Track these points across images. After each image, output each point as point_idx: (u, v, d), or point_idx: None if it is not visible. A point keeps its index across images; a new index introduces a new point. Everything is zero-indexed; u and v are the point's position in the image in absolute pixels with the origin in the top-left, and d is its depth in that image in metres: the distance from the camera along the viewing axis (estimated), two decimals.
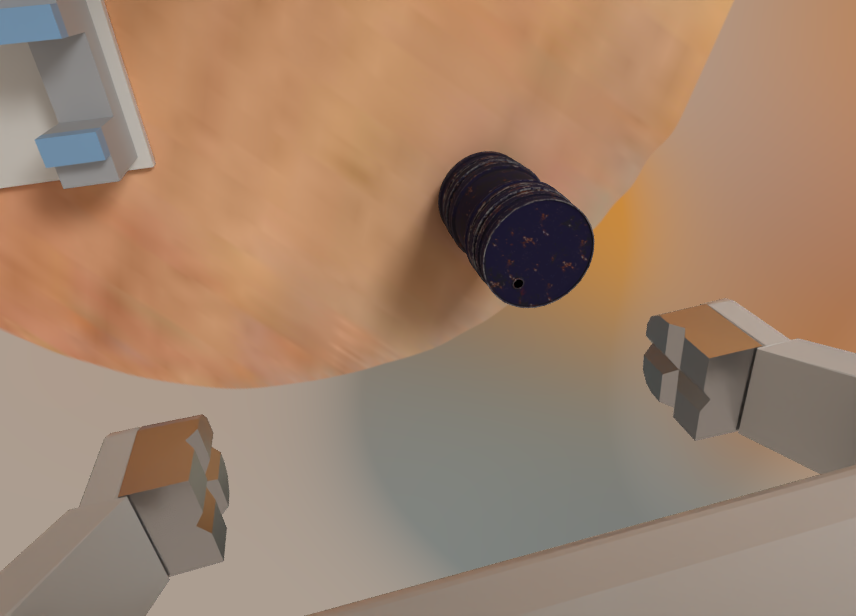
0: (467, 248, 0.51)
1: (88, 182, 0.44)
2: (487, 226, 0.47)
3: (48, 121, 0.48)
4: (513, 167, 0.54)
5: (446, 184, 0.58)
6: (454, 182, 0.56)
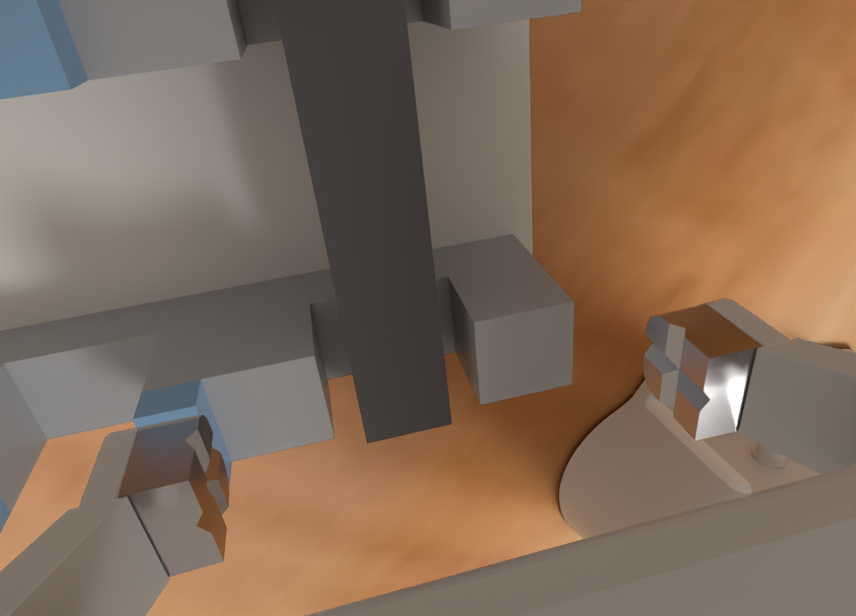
0: None
1: None
2: None
3: (6, 291, 0.25)
4: None
5: None
6: None
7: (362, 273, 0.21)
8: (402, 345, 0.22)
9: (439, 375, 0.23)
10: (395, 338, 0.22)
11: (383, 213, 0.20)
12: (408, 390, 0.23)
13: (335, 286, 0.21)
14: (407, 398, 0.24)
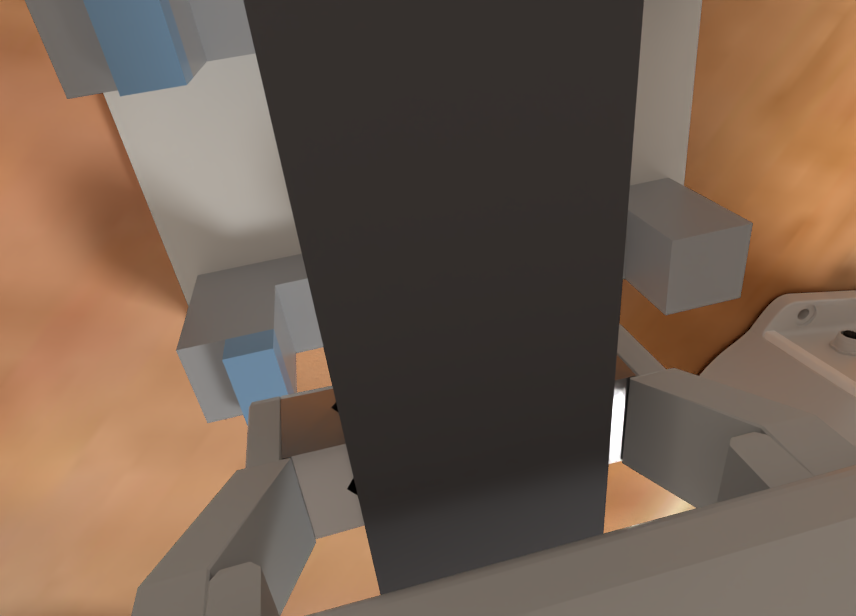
0: None
1: (196, 383, 0.25)
2: None
3: (261, 229, 0.30)
4: None
5: None
6: None
7: None
8: None
9: None
10: None
11: (511, 508, 0.09)
12: None
13: None
14: None
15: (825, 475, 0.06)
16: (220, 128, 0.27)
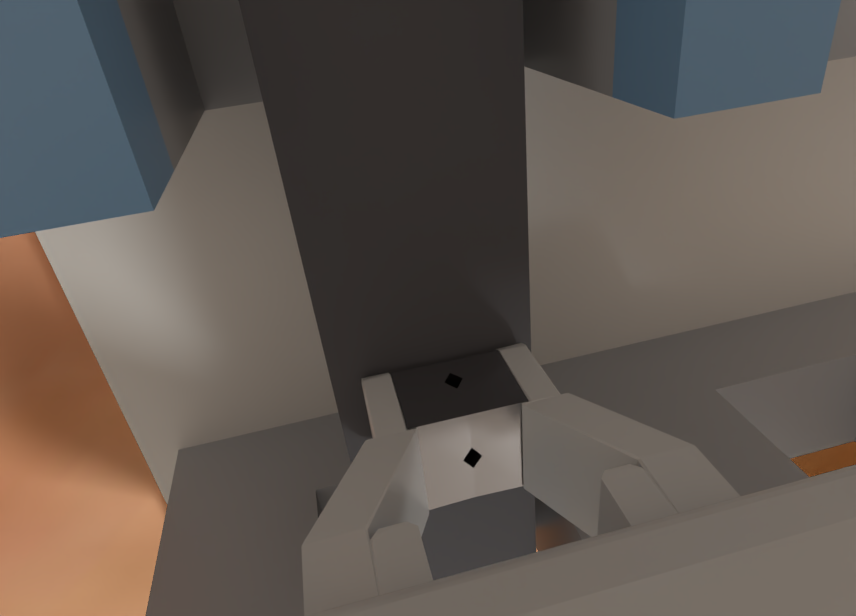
0: None
1: None
2: None
3: (288, 377, 0.18)
4: None
5: None
6: None
7: None
8: None
9: None
10: None
11: None
12: None
13: None
14: None
15: (825, 475, 0.06)
16: (224, 219, 0.15)
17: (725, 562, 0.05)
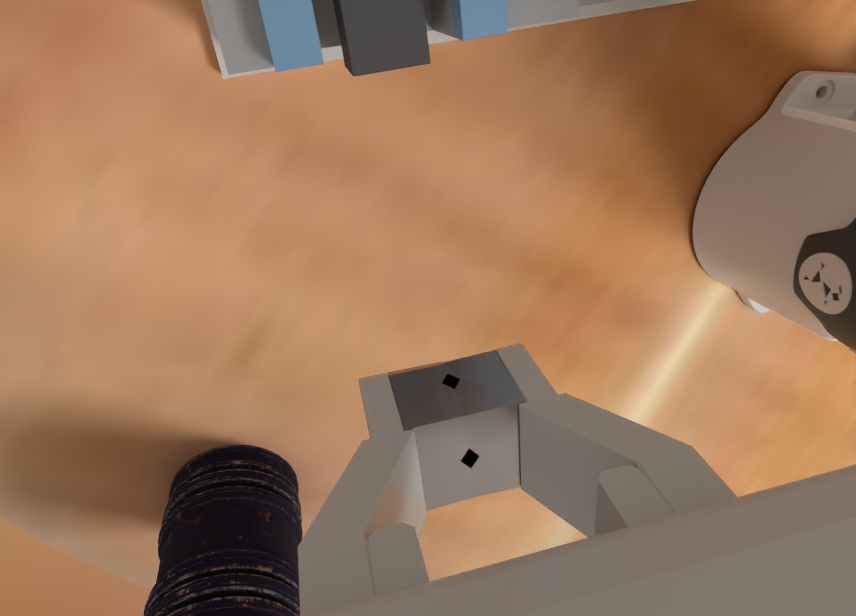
0: (197, 568, 0.35)
1: (217, 17, 0.24)
2: (251, 609, 0.34)
3: None
4: (299, 543, 0.43)
5: (251, 455, 0.44)
6: (263, 476, 0.43)
7: None
8: None
9: (417, 0, 0.26)
10: None
11: None
12: (389, 14, 0.26)
13: None
14: (388, 25, 0.26)
15: (825, 475, 0.06)
16: None
17: (725, 562, 0.05)
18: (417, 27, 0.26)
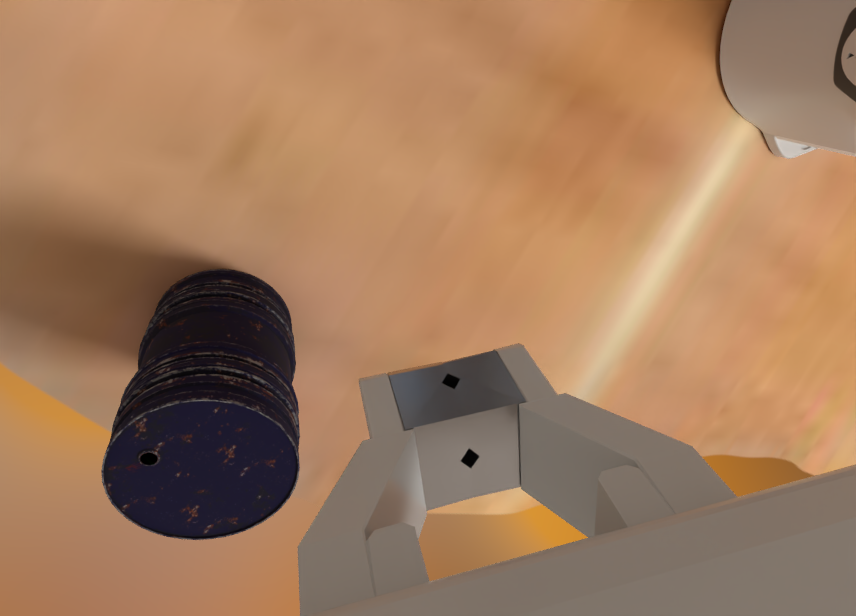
0: (180, 353, 0.32)
1: None
2: (238, 388, 0.30)
3: None
4: (292, 371, 0.40)
5: (242, 279, 0.41)
6: (254, 295, 0.39)
7: None
8: None
9: None
10: None
11: None
12: None
13: None
14: None
15: (825, 475, 0.06)
16: None
17: (725, 562, 0.05)
18: None
